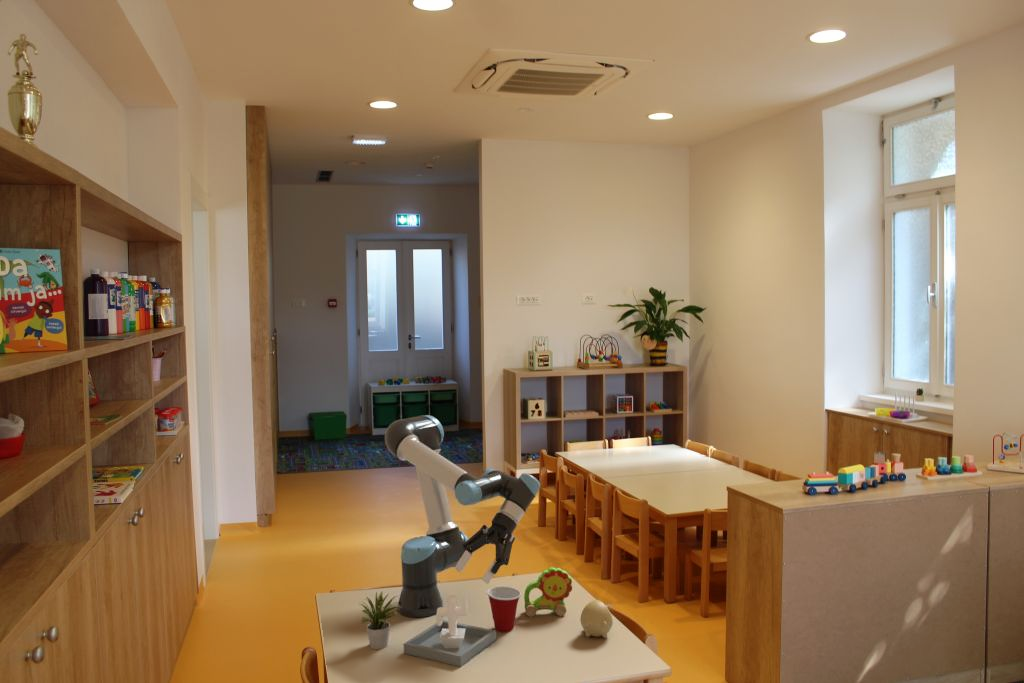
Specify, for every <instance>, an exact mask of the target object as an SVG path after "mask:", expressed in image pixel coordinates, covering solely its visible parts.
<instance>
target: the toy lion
mask: <svg viewBox="0 0 1024 683" xmlns="http://www.w3.org/2000/svg"><path fill="white" fill-rule="evenodd" d="M572 584H573V580H572V577H571V576H570V575H569V574H568V572H567V571H566V570H563V569H561V568H560V567H556V568H555V567H554V566H553V567H552V566H551V567H549V568H548V569H545V570H543V571H542V573H541V574H539V576H538V579H536V580H534V581H531V582H530V583H529V584H528V585H527V586H526V588H525V590H524V595H523V596H524V597H523V599H524V612H525V615H526V616H528V617H530V618H532V617H535V615H536V614H537V612H538V611H543V610H547V611H548V610H549V611H553V612H555V614H556V615H557V616H559V617H563V616H564V615H566V613H567V608H566V604H565V601H564V600H565V599H567V598H568V597H569V596H570V593H571V592H572V591H573V585H572ZM533 589H537V590H538V589H539V590H540V591H541V593H542V595H540V596H538V597H537V598H536V599H534V601H533V600H531V599H530V594H531V591H532V590H533Z"/></svg>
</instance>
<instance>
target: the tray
mask: <svg viewBox="0 0 1024 683" xmlns="http://www.w3.org/2000/svg"><path fill="white" fill-rule="evenodd" d="M457 628H466V630H465V635H464V639H463V641H462V644H461V646H460V648H445V647H444V645H443V644H442V642H441V640H440V639H439V638H440V635H441V631H442V629H449V625H448V620H444V619H442V625H441V626H438V625H437V622H436V623H433V625H431V626H429V627H428V628H426V629H424V630H423V631H421V632H420V633H418V634H416V635H415V636H413V637H412V638H411V639H409V640H407V641H405V642H404V643H403V654H404V655H408V656H412V657H417V658H420V659H421V658H422V659H426V660H430V661H434V662H437V663H438V662H439V663H443V664H447V665H450V666H454V667H460V668H462V667H463V666H465V665H466V664H467V663H468V662H470V661H471V660H472V659H474V658H475V657H477V656H478V655H479V654H480V653H482V652H483V651H485V649H487V648H488V647H490V646H491V645H492V644H494V643H495V642H496V641H497V630H496V629H489V628H484V627H479V626H474V625H469V624H465V623H459V622H457Z"/></svg>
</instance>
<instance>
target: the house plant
mask: <svg viewBox="0 0 1024 683" xmlns="http://www.w3.org/2000/svg"><path fill="white" fill-rule="evenodd" d="M383 593H384V592H383V591H380V593H379V595H378V591H376V593H375V602H374V603H375V604H374V603H373V601H372V600H371V599H370V598H369V597H368V596H366V599H363V600H365V601H366V600H367V602H368V604H369V605H370V607H369V606H368V605H367V604H366V603H365V602H364V601H362V600H361V602H359V605H360V606H362V607H363V608H364V609H362V610H361V612H362V613H364V614H366V615H367V616H368V617H369V618H367V617H361V620H360V622H361V624H363V623H366V622H369V623H368V624H367V625H366V632H367V636H368V641H369V646H370V648H371V649H373V650H382V649H386V648H387V647H388V644H389V636H390V628H391V623H390V622H388V621H387V620H389V619H390V618H398V616H397V615H399V612H398V611H392V610H395V609H398V608H399V607H398V606H396V605H394V604H395V602H393V600H394V599H396V598H397V597H398V595H396V596H393V597H392V598H391V599H389V601H388V602H387V603H386V604H385V606H383V605H384V603H385V600H386V599H387V597H388V596H389V593H387V595H385V596H384V597H383ZM390 611H392V612H390Z"/></svg>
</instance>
